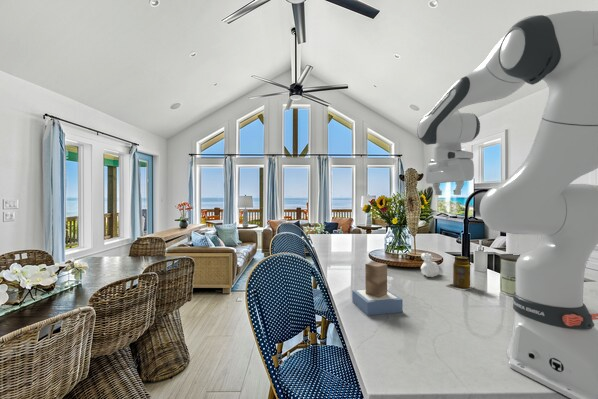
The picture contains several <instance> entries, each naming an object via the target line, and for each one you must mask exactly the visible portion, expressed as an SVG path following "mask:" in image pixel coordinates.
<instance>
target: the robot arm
mask: <svg viewBox="0 0 598 399" xmlns="http://www.w3.org/2000/svg"><path fill="white" fill-rule="evenodd" d="M541 80H542V81H544V82H545V83H546V85H547V87H548V97H547V100H546V104H545V105H544V106H545V107H544V110H543V113H542V116H541V119H540V122H539V126H538V129H537V132H536V135H535V138H534V140H533V144H532V145H531V149H530V151H529V153H528V155H527V156H526V158H525V159H524V161H523V162H522V163H521V165H520V166H519V167H518V168H517V169H516V171H515V172H514V173H512V175H510V176H509V177H508V178H507V179H505V180H504V181H503V182H501V183H500V184H498V185H496V186H494V187H492V188H490V189H488V190H487V191H486V192H485V194H483V197H482V198H481V200H480V204H479V214H480V217H481V220H482V221H483V222H484V224H485V225H486V227H488V229H490V230H493V231H495V232H496V231H497V232H501V233H505V234H506V233H507V234H512V235H537V236H538V235H541V239H540V240H539V242H538V244H536V245H535V247H534V248H532V249H530V250H528V251H526V252H524V253H522V254H520V255H521V256H520V257H519V258H518V259H517V261H516V292H514V293H513V297H512V298H513V299H512V308H513V310H514V318H513V319H514V320H513V328H512V333H511V339H510V341H509V344H508V347H507V349H506V355H507V357H508V358H509V361H508V367H510V368H511V369H513V371H516V372H518V373H520V374H522V375H524V376H526V377H528V378H530V379H531V380H534V381H535V382H538V383H540V384H542V385H543V386H545V387H548V388H550V389H551V390H553V391H556V392H558V393H559V394H561V395H564V396H565V397H567V398H569V399H598V328H596V327H595V323H594V321H595V320H598V312H597V313H590V312H589V310H588V308H587V306H586V304H585V303H584V283H585V272H586V271H585V270H586V268H587V263H588V261H589V258H590V257H591V255H592V253H593V251H594V249H596V247H597V245H598V185H595V184H594V185H593V184H588V183H573V182H574V181H575V180H577V179H579V178H580V177H582V176H585V175H587V174H589V173H591V172H593V171H596V170H597V169H598V10H585V11H584V10H571V11H569V10H568V11H563V12H557V13H553V14H552V13H551V14H548V15H543V14H540V15H538V14H537V15H529V16H526V17H524V18H522V19H519V20H518V21H517V22H516V23H514V24H513V25H512V26H511V27H510V28H509V29H508V31H506V32H505V33H504V35H502V37H501V38H500V39H499V40H498V42H496V44H495V45H494V46H493V48H492V49H491V51H490V52H489V53H488V54H487V55H486V58H485V59H484V60H483V61H482V62H481V63H480V64H479V65H478V66H477V67H475V68H474V69H473V70H472V71H471V72H469V73H468V74H466V75H465V76H463V77H461V78H459V79H458V80H456V81H455V83H453V84H452V85H451V86H450V88H449V89H448V90H447V91H446V92H445V93H444V94H443V96H442V97H441V98H440V99H439V100H438V101H437V103H436V104H435V105H434V106H432V107H433V108H432V109H431V110H430V111H428V112H427V113H426V114H424V115H423V116H422V118H420V120H419V122H418V125H417V129H416V131H417V133H416V134H417V137H418V139H419V140H420V141H421V142H422V143H424V144H425V145H426V146H427V145H434V146H433V159H430V161H429V162H428V164H427V167H426V169H425V170H426V172H425V182H426V184H432V187H433V190H434V195H435V196H442V194H443V193H442V192H443V190H441V188H440V187H441V184H445V183H455V189H453V195H455V196H460V195H461V194H462V188H463V187H464V185H465V184H464V183H465V182H470V181H472V180H473V179H474V175H475V165H474V161H473V158H474V153H473V152H471V151H466V150H462V145H461V144H464V143H469V142H470V143H471V142H473V141H474V140H475V139H476V138H477V136H478V135H479V134H480V130H481V123H480V119H479V117H478V116H477V115H476V114H475V113H473V112H472V113H471V112H461V111H459V110H460V109H463V108H464V107H468V106H471V105H475V104H481V103H487V102H493V101H499V100H502V99H505V98H507V97H509V96H511V95H513V94H515V92H517V91H518V90H520V88H522V87H523V86H524V85H525V84H529V85H536V84H537V83H539V82H541Z"/></svg>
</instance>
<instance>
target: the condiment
mask: <svg viewBox="0 0 598 399" xmlns="http://www.w3.org/2000/svg"><path fill="white" fill-rule="evenodd" d="M453 257H454V258H453V259H454V260H453V264H452V269H453V270H452V278H453V279H452V283H450V284H447V285H445V286H446V287H448V288H451V289H456V290H459V291H467V290H471V289H473V288H475V286H473V285H471V265H470V257H467V256H462V255H456V256H453Z"/></svg>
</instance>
